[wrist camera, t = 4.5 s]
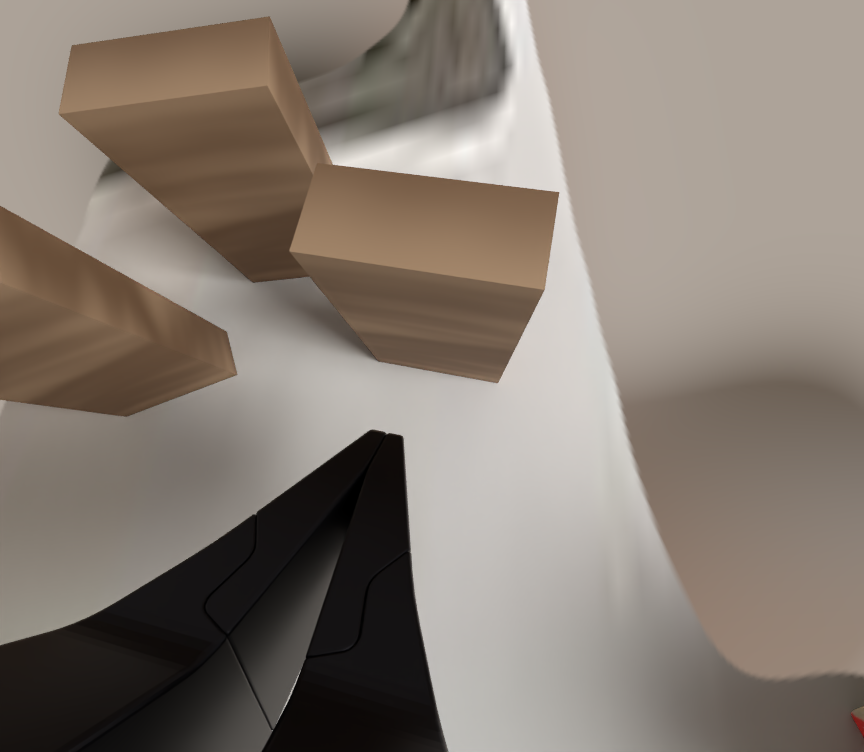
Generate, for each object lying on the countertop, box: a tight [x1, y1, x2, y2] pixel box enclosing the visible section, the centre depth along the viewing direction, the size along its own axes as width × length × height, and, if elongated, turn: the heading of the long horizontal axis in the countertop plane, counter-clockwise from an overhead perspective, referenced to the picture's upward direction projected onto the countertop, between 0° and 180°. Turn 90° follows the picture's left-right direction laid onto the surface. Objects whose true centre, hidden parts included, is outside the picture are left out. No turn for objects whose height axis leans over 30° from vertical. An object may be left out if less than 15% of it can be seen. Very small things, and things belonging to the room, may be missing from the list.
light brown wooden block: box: [59, 17, 333, 283], centre depth 15 cm, size 3×6×10 cm, turn 95°
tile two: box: [0, 206, 237, 417], centre depth 14 cm, size 3×6×10 cm, turn 111°
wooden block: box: [289, 163, 559, 383], centre depth 14 cm, size 3×6×10 cm, turn 79°
